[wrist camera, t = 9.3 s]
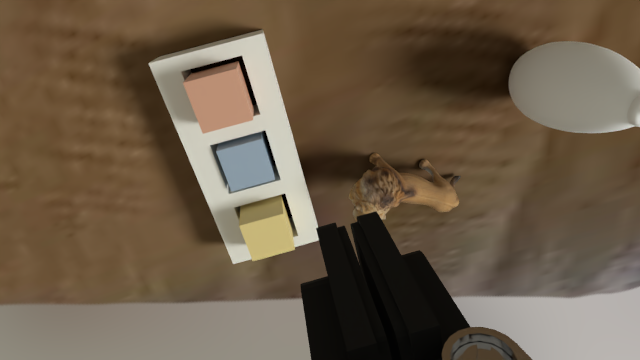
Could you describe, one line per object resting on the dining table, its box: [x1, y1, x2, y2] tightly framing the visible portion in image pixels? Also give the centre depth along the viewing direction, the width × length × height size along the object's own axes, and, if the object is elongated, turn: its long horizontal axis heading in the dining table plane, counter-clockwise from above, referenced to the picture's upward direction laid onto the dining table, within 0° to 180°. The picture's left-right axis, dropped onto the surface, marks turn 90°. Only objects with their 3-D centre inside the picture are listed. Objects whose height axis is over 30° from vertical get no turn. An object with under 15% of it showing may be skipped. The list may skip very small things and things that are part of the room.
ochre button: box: [239, 195, 295, 261], centre depth 40 cm, size 4×4×4 cm
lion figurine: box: [349, 153, 460, 221], centre depth 41 cm, size 15×5×9 cm, turn 85°
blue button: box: [216, 131, 275, 192], centre depth 39 cm, size 4×4×4 cm
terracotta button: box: [183, 61, 254, 134], centre depth 34 cm, size 4×4×4 cm
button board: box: [148, 29, 319, 264], centre depth 39 cm, size 22×10×4 cm, turn 13°
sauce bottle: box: [508, 41, 640, 133], centre depth 34 cm, size 8×8×18 cm
